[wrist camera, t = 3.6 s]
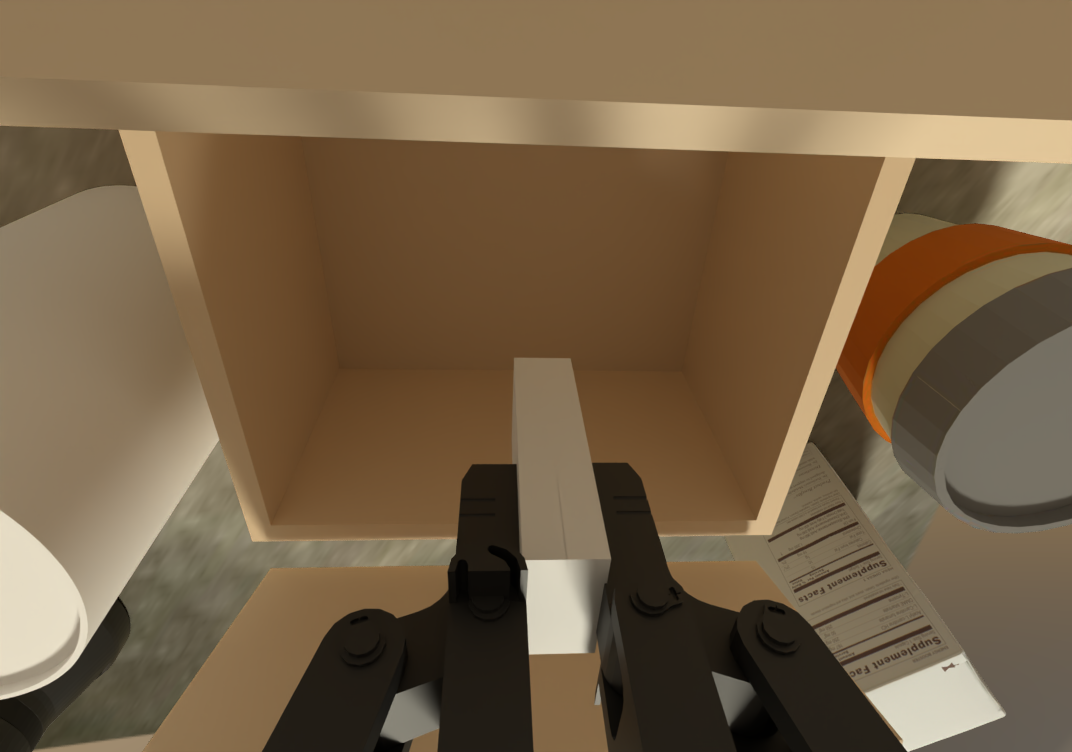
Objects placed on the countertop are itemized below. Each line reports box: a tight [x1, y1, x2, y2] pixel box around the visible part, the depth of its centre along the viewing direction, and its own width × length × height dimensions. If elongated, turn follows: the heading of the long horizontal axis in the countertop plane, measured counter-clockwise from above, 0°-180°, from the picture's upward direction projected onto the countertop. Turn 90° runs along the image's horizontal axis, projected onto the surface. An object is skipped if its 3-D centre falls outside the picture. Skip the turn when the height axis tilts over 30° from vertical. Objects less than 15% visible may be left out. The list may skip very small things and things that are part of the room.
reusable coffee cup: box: [836, 213, 1072, 533], centre depth 30 cm, size 12×13×15 cm
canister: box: [0, 185, 219, 700], centre depth 26 cm, size 14×14×20 cm
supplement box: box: [724, 442, 1006, 752], centre depth 39 cm, size 10×9×17 cm
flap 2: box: [142, 561, 903, 752], centre depth 21 cm, size 22×10×1 cm
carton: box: [119, 130, 916, 541], centre depth 26 cm, size 24×22×14 cm
